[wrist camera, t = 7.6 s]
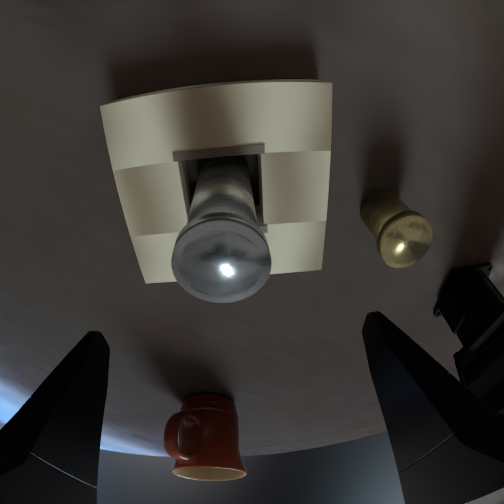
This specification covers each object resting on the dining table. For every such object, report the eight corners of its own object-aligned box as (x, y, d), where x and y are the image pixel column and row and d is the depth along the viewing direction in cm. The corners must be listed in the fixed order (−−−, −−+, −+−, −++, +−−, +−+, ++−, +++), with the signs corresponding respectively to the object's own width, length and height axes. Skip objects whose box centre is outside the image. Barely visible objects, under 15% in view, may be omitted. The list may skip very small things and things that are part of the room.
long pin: (252, 147, 18) (270, 218, 10) (255, 202, 20) (272, 298, 13) (190, 152, 18) (161, 228, 10) (198, 207, 20) (182, 305, 12)
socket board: (318, 79, 15) (332, 83, 13) (312, 247, 22) (321, 270, 20) (116, 99, 15) (99, 106, 13) (152, 260, 22) (145, 284, 20)
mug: (253, 407, 37) (259, 476, 29) (199, 419, 39) (199, 482, 31) (205, 368, 31) (203, 456, 22) (145, 383, 33) (135, 460, 24)
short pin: (405, 184, 20) (438, 216, 16) (396, 229, 22) (424, 265, 18) (359, 185, 20) (387, 218, 16) (353, 232, 22) (376, 270, 18)
